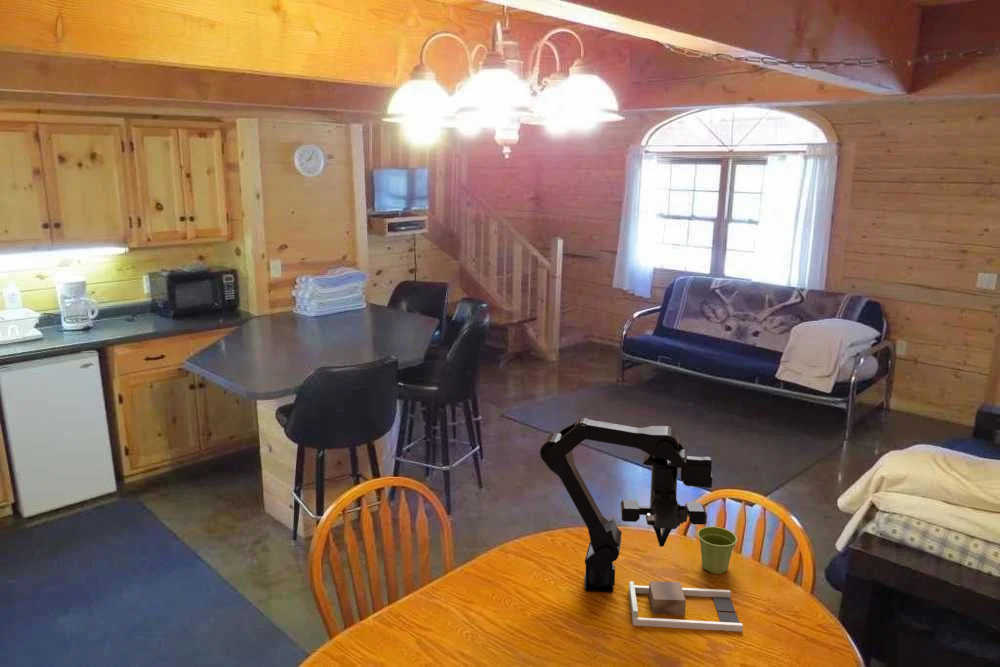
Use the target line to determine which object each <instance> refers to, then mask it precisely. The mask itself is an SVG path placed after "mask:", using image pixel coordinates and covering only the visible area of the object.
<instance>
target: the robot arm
mask: <svg viewBox="0 0 1000 667" xmlns="http://www.w3.org/2000/svg"><path fill="white" fill-rule="evenodd" d="M585 440H588V441H594V442H599V443H604V444H605V443H606V444H612V445H617V446H623V447H629V448H634V449H637V450H639V451H642V452H644V453H646V454H647V455H645V456H644V457H643V462H642V463H643V466H650V467H651V468H650V469H651V474H650V496H649V498H650V499H649V506H648V505H646V506H645V505H639V500H638V499H637V500H636V499H622V500H621V502H620V509H619V510H620V517H621V521H623V522H630V523H631V522H632V523H637V522H638V521H639V520H640V516H645V519H646V524H647V525H648V526H652V528H653V530H654V532H655V535H656V539H657V541H658V545H659V547H661V548H662V547H664V546H665V544H666V541H667V539H668V537H669V535H670V533H671V532H672V530H676V529H677V528H678V527H680V526H681V524H683V525H684V523H687V522H688V521H689V522H690V523H691V524H692V525H701V526H703V525H704V526H705V525H707V521H708V514H707V511H706V509H705V508H706V507H705V506H704V504H703V503H702V502H695V501H694V502H693V501H685V504H684V505H681V504H680V503H678V501H677V493H678V492H677V491H678V489H677V488H678V470H679V469H680V478H679V480H680V482H682V484H683V485H684V486H685V487H692V488H693V487H695V488H706V489H712V486H713V472H712V462H713V461H712V457H711V456H693V455H687V450H686V449H685V447H684V446H683V445H682V444H681V442H680V438H679V434H678V432H677V431H676V429H675V428H673V427H672V426H669V425H668V426H667V425H651V426H646V427H635V426H629V425H624V424H616V423H612V422H606V421H600V420H599V421H598V420H593V419H590V418H587V417H581V418H579V419H577V420H576V421H575V422H574V423H571V424H570V425H568V426H565V427H564V428H563V429H561V430H559V431H558V432H551V433H550V434H548V435H547V436H546V438H545V440H544V441H543V443H542V446H541V448H540V451H539V455H540V459H541V460H542V461H543V463H544V464H545V466H547V468H548V469H549V470H550V471H551V472H552V473H553V474H555V475H556V476H557V477H558V478H559V479H560V481H561V482H562V485H563V486H564V488H565V489H566V491H567V493H568V496H569V498H570V499H571V501H572V502H573V505H574V506H575V508H576V510H577V511H578V513H579V515H580V517H581V519H582V520H583V522H584V524H585V526H586V528H587V530H588V531H587V532H588V537H589V539H590V540H589V541H590V542H589V543H588V548H587V551H586V555H585V559H584V563H585V564H584V565H585V572H584V573H585V574H584V590H585V591H587V592H598V593H599V592H600V593H601V592H603V593H613V592H614V586H615V585H616V566H615V564H614V562H616V561H617V559H618V558H619V556H620V550H621V546H622V534H623V532H622V531H621V530H620V528H618V525H617V523H616V521H615V519H614V518H613V519H611V520H608V519H606V518H605V517H604V516H603V514H602V512H601V510H600V509H599V507H598V505H597V503H596V501H595V500H594V498H593V495H592V494H591V493H590V490H589V488H588V487H587V485H586V483H585V482H584V479H583V477H582V476H581V474H580V473H579V470H578V468H577V467H576V463H575V460H574V454H573V450H574V449H575V448H576V447H578V446H579V445H580V444H581V443H582V442H583V441H585Z"/></svg>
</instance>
